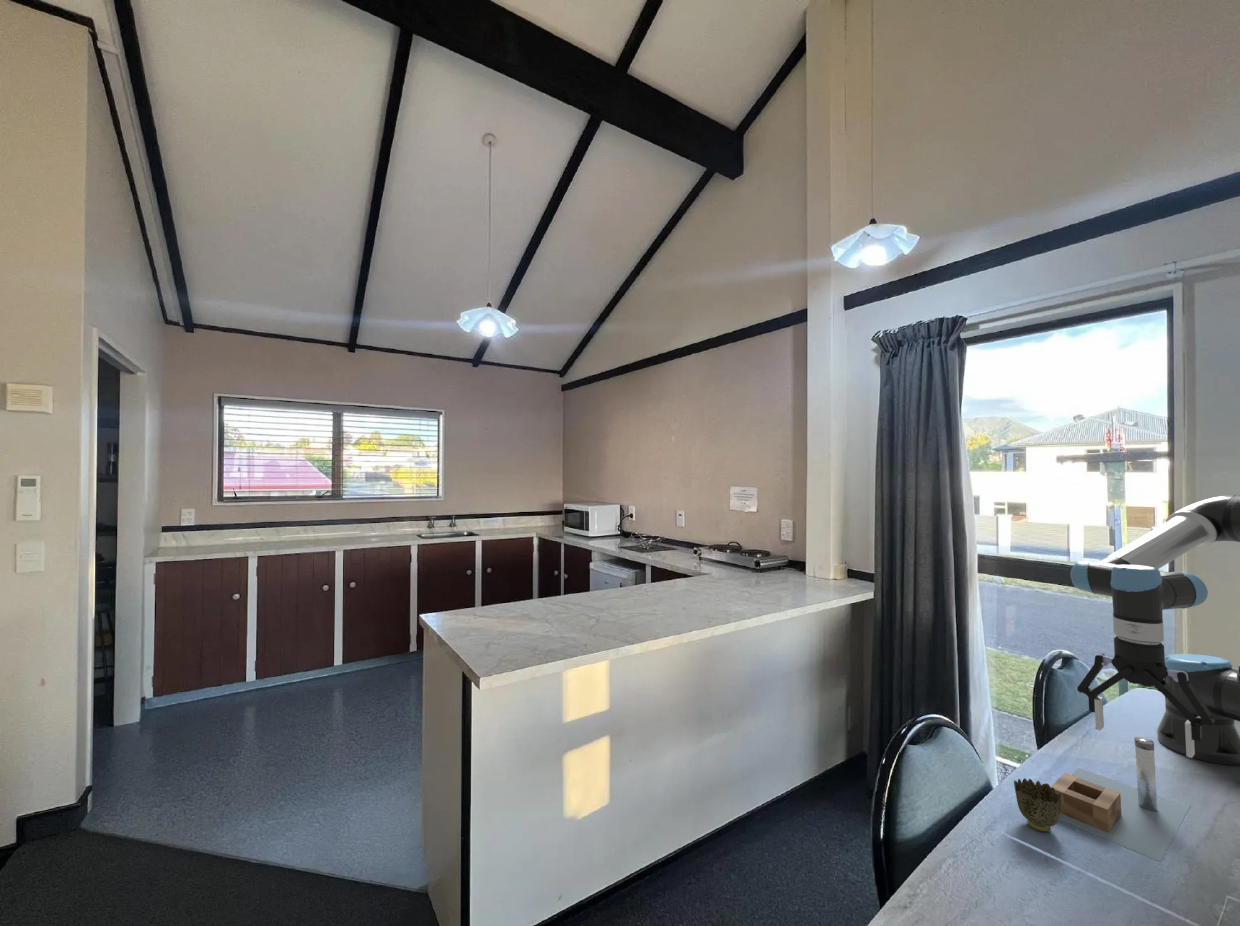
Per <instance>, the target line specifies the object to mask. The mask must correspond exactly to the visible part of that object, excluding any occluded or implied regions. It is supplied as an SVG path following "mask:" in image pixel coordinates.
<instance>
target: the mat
mask: <svg viewBox="0 0 1240 926" xmlns="http://www.w3.org/2000/svg"><path fill="white" fill-rule="evenodd" d="M1071 775H1072V776H1075V777H1078V778H1080V779H1083V780H1086V781H1089V782H1092V783H1094V784H1097V785H1100V786H1103V787H1105V788H1108V789H1111V790H1114V791H1116V792H1119V793H1120V796H1121V817H1120V818H1119V819H1118V821H1117V822H1116V824H1115V825H1114V826H1113V828H1112V829H1111V831H1110V832H1109V833H1107V832H1105V831H1102V830H1100V829H1097V828H1095V827H1093V826H1090V825H1088V824H1085V823H1083V822H1081V821H1078V820H1076V819H1073V818H1071V817H1069V816H1066V815H1064V814H1061V813H1060V816H1059V820H1058V821H1062V822H1065V823H1067V824H1069V825H1071V826H1074V827H1076V828H1078V829H1081V830H1083V831H1086V832H1088V833H1090V834H1092V835H1095V836H1097V837H1100V838H1102V839H1105V840H1107V841H1109V842H1112V843H1114V844H1116V845H1118V846H1121V847H1123V848H1126V849H1127V850H1131V851H1133V852H1136V853H1137V854H1140V855H1142V856H1144V857H1147V858H1150V859H1151V860H1153V861H1156V862H1159V863H1161V862H1162V860H1163V859H1164V857H1165V855H1166V852H1167V850H1168V849H1169V847H1170V845H1171V844H1172V841H1173V839H1174V837H1175V835H1176V834H1177V832H1178V831H1179V828H1180V826H1181V825H1182V822H1184V821H1183V820H1184V819H1185V817H1186V815H1187V814H1188V812H1189V810H1190V806H1189V805H1186V804H1183V803H1180V802H1177V801H1174V800H1171V799H1169V798H1166V797H1162V796H1160V795H1157V811H1156V812H1152V811H1148V810H1145V809H1143V808H1141V807H1140V806H1139V805H1138V789H1137V787H1134V786H1131V785H1129V784H1126V783H1123V782H1120V781H1117V780H1115V779H1111V778H1108V777H1106V776H1102V775H1100V774H1097V773H1095V772H1091V771H1090V770H1089V771H1088V770H1085V769H1082V768H1080V767H1077V768H1076V770H1075V771H1074V772H1073V773H1072V774H1071ZM1158 799H1160V800H1158ZM1174 804H1177V805H1174Z"/></svg>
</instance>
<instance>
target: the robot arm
mask: <svg viewBox="0 0 1240 926" xmlns="http://www.w3.org/2000/svg"><path fill="white" fill-rule="evenodd" d="M1215 542H1237V543H1240V494H1228V495H1227V494H1226V495H1219V496H1213V497H1211V498H1210V497H1209V498H1207V499H1203V500H1200V501H1197V502H1195V503H1194V502H1193V503H1191V504H1189V505H1186V506H1184V507H1182V508H1180V509H1178V510H1177V511H1174V512H1172V513H1171V514H1170V515H1168V516H1167V518H1166V520H1165V522H1164V523H1163V524H1161V525H1159V526H1157V527H1156V528H1154V529H1152V530H1151V531H1149V532H1147V533H1145V534H1144V535H1142V536H1140V537H1138V538H1137V539H1135V540H1133V541H1132V542H1130V543H1128V544H1127V545H1125V546H1123V547H1121V548H1120V549H1117V550H1116V551H1114V552H1113V553H1111V554H1109V555H1107V556H1106V557H1104V558H1102V559H1101V560H1099V561H1096V562H1095V561H1092V560H1089V561H1088V560H1080V561H1077V562H1076V563H1074V565H1072V568H1071V570H1070V574H1069V575H1070V579H1071V582H1072V585H1073V586H1074V587H1075V588H1076V589H1077V590H1080V591H1083V592H1087V593H1091V594H1092V595H1093V594H1094V595H1099V596H1105V597H1111V598H1112V621H1113V623H1112V624H1113V626H1112V627H1113V634H1114V635H1115V637H1113V647H1114V648H1113V650H1114V652H1113V653H1114V657H1111V656H1107V655H1105V654H1104V653H1103V652H1100V653H1097V654H1096V655H1095V657H1094V664H1093V665H1092V667H1091V668H1090V670H1089V671H1088V673H1086V675H1085V676H1084V677H1083V679H1082V681H1081V682H1080V683H1079V684H1078V686H1077V687H1076V690H1077V691H1078V692H1079V693H1083V694H1084V695H1086V697H1088V710H1089V712H1091V713H1094V718H1095V719H1094V720H1095V730H1097V731H1101V730H1102V729H1103V728H1105V726H1104V725H1105V721H1104V702H1103V701H1104V700H1103V699H1104V697H1102V696H1100V695H1101V694H1102V693H1103V692H1105V691H1107V690H1108V689H1109V688H1111V687H1112V686H1114V685H1115V684H1117V683H1119V682H1120V681H1122V680H1123V679H1124V680H1125V681H1127V682H1128V683H1130V684H1135V685H1137V684H1138V685H1140V686H1143V687H1146V688H1147V687H1148V688H1151V687H1154V688H1155V689H1156V690H1157V692H1160V693H1161V694H1162V695H1163V696H1164V703H1165V704H1164V705H1165V711H1164V712H1163V716H1162V718H1161V720H1160V722H1159V724H1158V726H1157V731H1156V733H1157V735H1156V736H1157V741H1159V743H1161V744H1162V745H1163V746H1165V747H1166V748H1168V749H1169V750H1172V751H1174V752H1176V753H1180V754H1181V755H1184V756H1186V757H1188V758H1190V759H1197V760H1200V761H1205V762H1209V763H1212V764H1213V763H1214V764H1219V765H1220V764H1221V765H1230V766H1240V734H1239V732H1238V729H1237V728H1236V724H1235V721H1237V722H1240V663H1239V664H1238V669H1235V668H1234V669H1233V665H1232V663H1231V662H1230V660H1229V659H1226V658H1223V657H1218V656H1213V655H1212V656H1211V655H1204V654H1195V653H1174V654H1169V655H1166V656H1165V645H1164V644H1163V642H1164V641H1165V634H1164V633H1165V631H1164V619H1163V616H1164V615H1163V611H1164V610H1174V609H1183V610H1184V609H1190V608H1192V607H1197V606H1200V605H1202V604H1203V603H1204V602H1205V601H1206V600H1207V598H1208V595H1209V594H1208V593H1209V592H1208V591H1209V590H1208V589H1207V585H1206V584H1205V582H1204V581H1203V580H1202V579H1201V578H1199V577H1198V576H1197V575H1195V574H1194V573H1193V574H1192V573H1189V572H1186V571H1174V570H1172V571H1170V572H1169V571H1160V570H1159V569H1161V568H1163V567H1164V566H1166V565H1167V564H1169V563H1170V562H1173V561H1174V560H1176V559H1177V558H1179V557H1181V556H1183V555H1185V554H1186V553H1187V552H1190V551H1191V550H1193V549H1195V548H1197V547H1205V546H1209V545H1211V544H1213V543H1215ZM1109 664H1111V665H1112V666H1113V667H1114V668H1115V670H1116V671H1117V673H1115V674H1113V675H1112V676H1111V677H1109V678H1108V679H1106V680H1105V681H1102V683H1100V684H1099V685H1097V686H1096V687H1094V688H1093V689H1092V688H1090V686H1091V684H1092V683H1093V682H1094V681H1095V679H1096V678H1097V676H1098V675H1099V674H1100V672H1101V671H1102V670H1103V668H1104V667H1107V666H1109Z"/></svg>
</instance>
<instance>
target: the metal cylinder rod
mask: <svg viewBox="0 0 1240 926" xmlns="http://www.w3.org/2000/svg"><path fill="white" fill-rule="evenodd" d="M1134 747H1135V749H1134V751H1135V765H1136V766H1135V767H1136V788H1137V789H1138V805H1139V806H1140V807H1141V808H1143V809H1145V810H1148V811H1152V812H1156V811H1157V796H1158V795H1157V779H1156V778H1157V776H1156V762H1155V761H1156V759H1155V742H1154V741H1153V740H1152V739H1150V738H1147V737H1144V736H1135V737H1134Z"/></svg>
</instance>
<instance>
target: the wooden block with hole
mask: <svg viewBox="0 0 1240 926" xmlns="http://www.w3.org/2000/svg"><path fill="white" fill-rule="evenodd" d="M1050 787H1051V788H1052V787H1053V788H1054V790H1055V793H1056V794H1057V795H1058V794H1059V793H1060V794H1061V796H1062V798H1061V808H1060V813H1061V814H1064V815H1066V816H1069V817H1071V818H1073V819H1076V820H1078V821H1081V822H1083V823H1085V824H1088V825H1090V826H1093V827H1095V828H1097V829H1100V830H1102V831H1105V832H1107V833H1109V832H1110V831H1111V829H1112V828H1113V826H1114V825H1115V824H1116V822H1117V821H1118V819H1119V818H1120V817H1121V796H1120V793H1119V792H1116V791H1114V790H1111V789H1108V788H1105V787H1103V786H1100V785H1097V784H1094V783H1092V782H1089V781H1086V780H1083V779H1080V778H1078V777H1075V776H1072V774H1068V773H1066V772H1064V773H1063V774H1062V775H1060V777H1059V778H1058V779H1057V780H1056V781H1055V782H1054V783H1053V784H1052V785H1051V786H1050Z"/></svg>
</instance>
